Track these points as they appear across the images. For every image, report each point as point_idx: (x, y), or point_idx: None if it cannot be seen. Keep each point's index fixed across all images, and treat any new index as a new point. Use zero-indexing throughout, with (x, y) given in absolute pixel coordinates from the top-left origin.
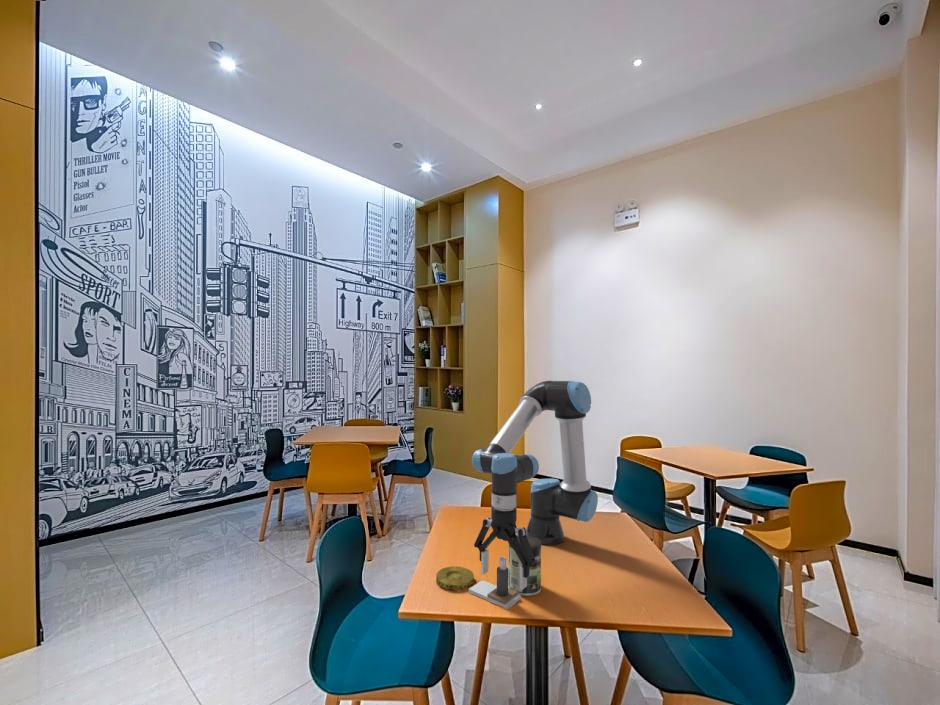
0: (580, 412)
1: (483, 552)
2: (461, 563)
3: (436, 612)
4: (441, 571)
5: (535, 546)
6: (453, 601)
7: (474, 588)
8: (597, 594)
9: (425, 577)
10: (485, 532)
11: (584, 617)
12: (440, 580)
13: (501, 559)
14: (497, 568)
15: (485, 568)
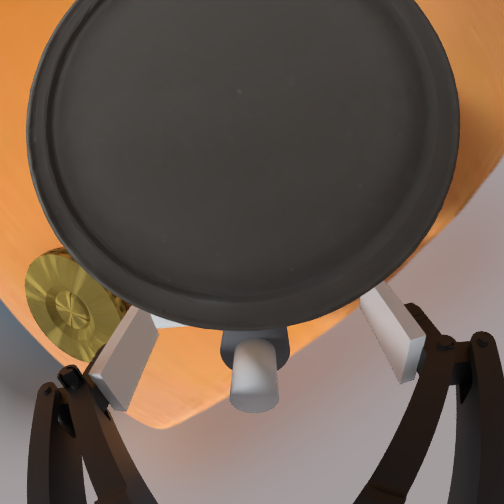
0: None
1: (122, 409)
2: (7, 213)
3: (192, 414)
4: (43, 324)
5: (445, 135)
6: (171, 374)
7: (153, 315)
8: (442, 13)
9: (44, 339)
10: (66, 488)
11: (484, 158)
12: (84, 359)
13: (259, 410)
14: (232, 367)
15: (145, 335)
